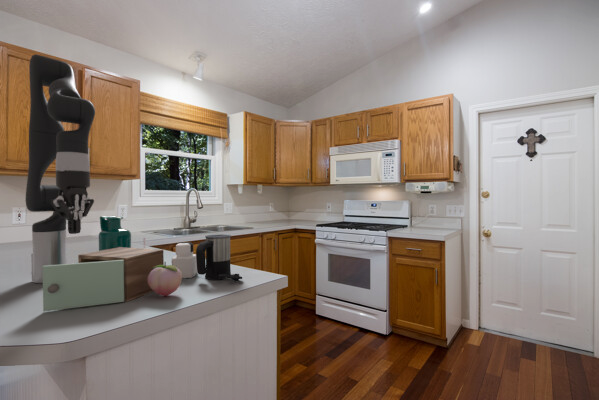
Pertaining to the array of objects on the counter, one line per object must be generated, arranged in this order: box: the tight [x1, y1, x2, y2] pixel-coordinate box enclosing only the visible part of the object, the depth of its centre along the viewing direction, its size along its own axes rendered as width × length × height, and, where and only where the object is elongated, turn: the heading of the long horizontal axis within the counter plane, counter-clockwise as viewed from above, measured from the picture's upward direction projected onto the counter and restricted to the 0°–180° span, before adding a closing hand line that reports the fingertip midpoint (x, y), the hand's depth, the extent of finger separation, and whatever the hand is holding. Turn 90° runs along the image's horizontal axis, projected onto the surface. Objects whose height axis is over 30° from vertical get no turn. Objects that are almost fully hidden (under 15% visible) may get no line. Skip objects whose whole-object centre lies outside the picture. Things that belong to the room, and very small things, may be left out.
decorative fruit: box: [148, 261, 183, 297], centre depth 89 cm, size 9×8×10 cm
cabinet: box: [77, 247, 165, 302], centre depth 94 cm, size 18×14×12 cm
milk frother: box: [195, 234, 243, 283], centre depth 107 cm, size 14×16×15 cm
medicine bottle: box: [171, 241, 198, 279], centre depth 112 cm, size 7×7×12 cm
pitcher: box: [98, 215, 132, 251], centre depth 111 cm, size 10×8×22 cm
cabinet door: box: [42, 260, 125, 312], centre depth 80 cm, size 18×2×11 cm, turn 112°
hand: (74, 233), depth 85 cm, fingers closed
